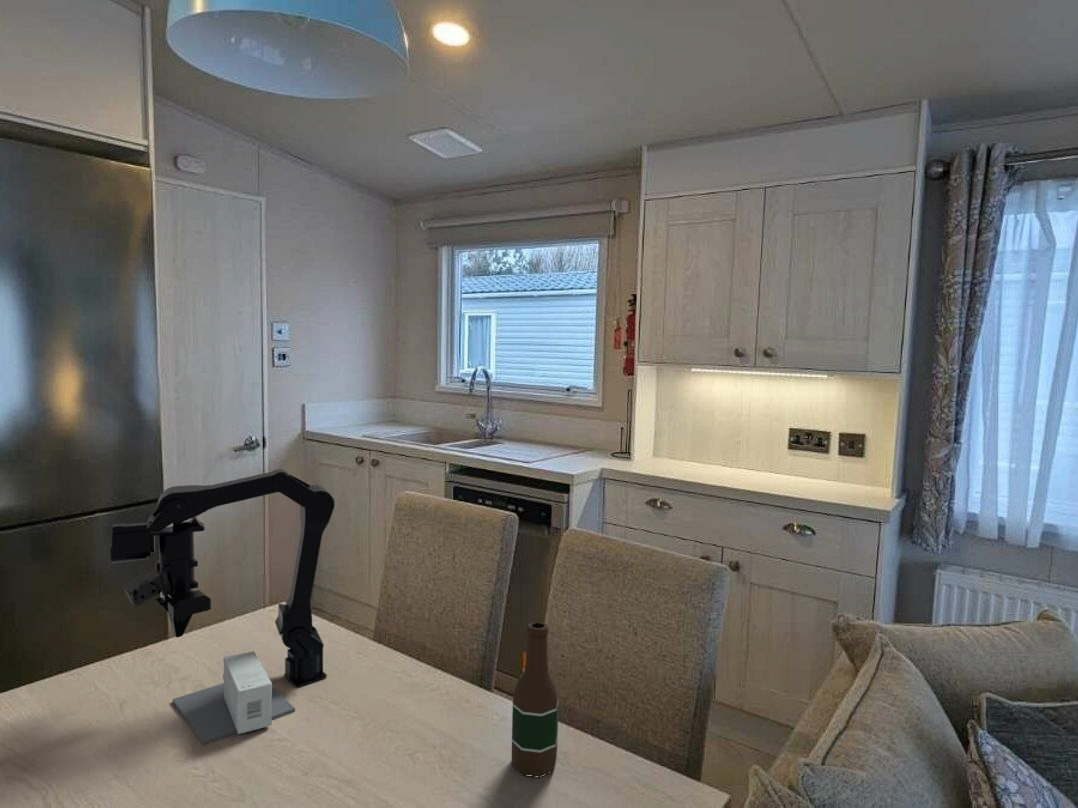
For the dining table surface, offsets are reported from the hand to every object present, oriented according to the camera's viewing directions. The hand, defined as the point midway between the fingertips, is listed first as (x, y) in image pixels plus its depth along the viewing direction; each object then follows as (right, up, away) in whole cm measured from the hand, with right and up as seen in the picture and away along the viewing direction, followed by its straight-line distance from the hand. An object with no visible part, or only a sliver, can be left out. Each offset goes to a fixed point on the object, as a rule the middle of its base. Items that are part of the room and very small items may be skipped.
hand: (178, 636), depth 126 cm
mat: (+10, -13, 0) cm, 17 cm away
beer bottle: (+67, -16, -15) cm, 71 cm away
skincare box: (+18, -10, -9) cm, 23 cm away
